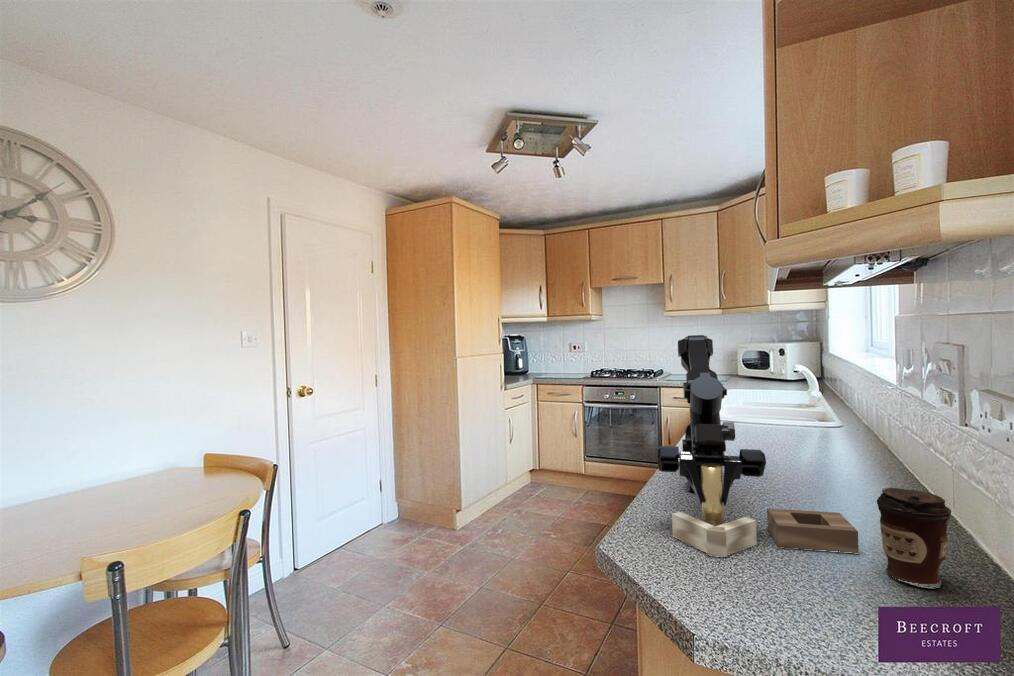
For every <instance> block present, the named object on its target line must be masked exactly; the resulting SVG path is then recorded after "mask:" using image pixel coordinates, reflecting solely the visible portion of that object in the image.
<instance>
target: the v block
mask: <svg viewBox="0 0 1014 676" xmlns="http://www.w3.org/2000/svg"><path fill="white" fill-rule="evenodd" d="M671 522H672V523H671V525H672V538H673V537H675V538H677V539H679V540H681V541H683V542H685V543H687V544H690V545H692V546H694V547H696V548H698V549H700V550H702V551H704V552H706V553H707V554H708V555H717V556H726V557H727V558H728V556H727V555H729V554H732V553H735V552H738V551H740V552H742V551H741V550H743V549H746V550H748V549H747V548H749V547H751V548H753V547H752V546H754V547H756V546H755V545H758V544H757V520H756V519H753V518H751V517H748V516H744V517H740V518H738V519H735V520H731V521H729V522H724V524H721V525H718V526H713V525H710V524H708V523H706V522H703V521H702V519H698V518H696V517H694V516H691V515H690V514H687V513H684V512H682V511H677V512H673V513H671ZM675 538H674V539H675ZM677 539H676V540H677ZM679 540H678V541H679ZM681 541H680V542H681ZM683 542H682V543H683ZM685 543H684V544H685ZM687 544H686V545H687ZM749 549H750V548H749ZM743 551H744V550H743ZM738 553H739V552H738ZM707 554H706V555H707ZM735 554H736V553H735ZM708 555H707V556H708ZM732 555H733V554H732ZM729 556H730V555H729Z"/></svg>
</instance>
